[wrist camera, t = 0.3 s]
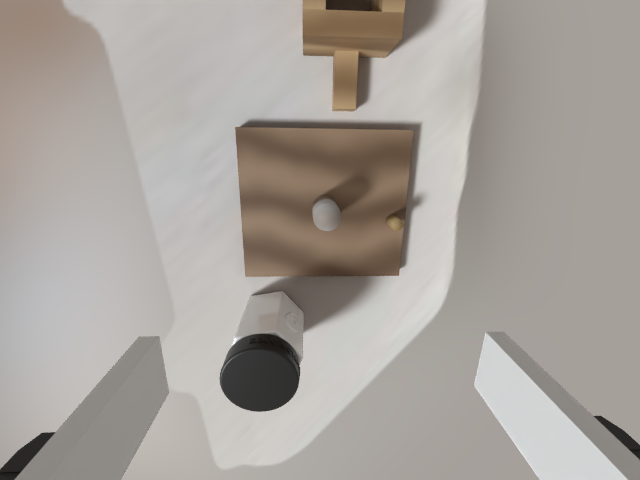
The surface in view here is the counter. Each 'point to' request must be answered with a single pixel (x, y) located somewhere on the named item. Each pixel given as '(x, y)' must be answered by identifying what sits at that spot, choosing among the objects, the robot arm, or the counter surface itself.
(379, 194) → the jig
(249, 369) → the jar
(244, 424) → the counter surface
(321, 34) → the wooden square frame
